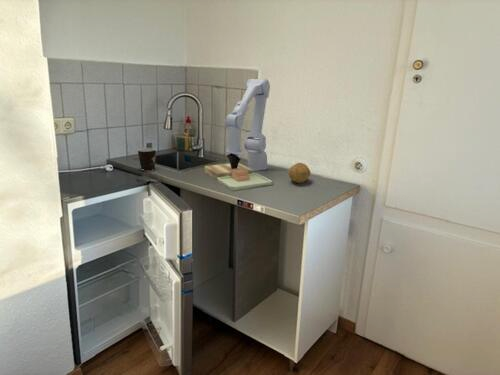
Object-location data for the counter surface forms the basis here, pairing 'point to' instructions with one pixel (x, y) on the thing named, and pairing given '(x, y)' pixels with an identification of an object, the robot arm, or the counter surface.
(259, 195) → the counter surface
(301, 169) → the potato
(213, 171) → the flat food package
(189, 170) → the counter surface
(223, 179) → the tray
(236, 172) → the tile rear
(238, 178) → the tile front
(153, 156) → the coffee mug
